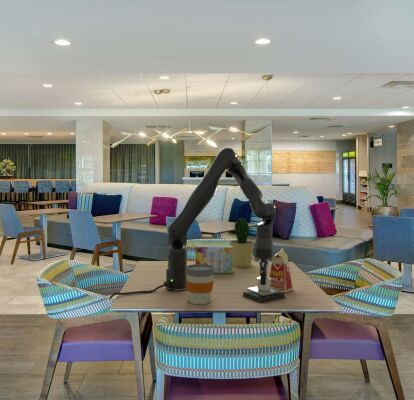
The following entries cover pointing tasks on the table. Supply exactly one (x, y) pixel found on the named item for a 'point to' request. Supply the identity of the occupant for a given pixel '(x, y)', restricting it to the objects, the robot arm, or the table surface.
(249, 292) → the scale
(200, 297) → the reusable coffee cup
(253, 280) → the table surface
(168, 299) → the table surface
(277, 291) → the grey square plate
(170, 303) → the table surface
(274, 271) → the milk carton
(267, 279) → the white cup
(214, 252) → the snack box
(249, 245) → the potted cactus
